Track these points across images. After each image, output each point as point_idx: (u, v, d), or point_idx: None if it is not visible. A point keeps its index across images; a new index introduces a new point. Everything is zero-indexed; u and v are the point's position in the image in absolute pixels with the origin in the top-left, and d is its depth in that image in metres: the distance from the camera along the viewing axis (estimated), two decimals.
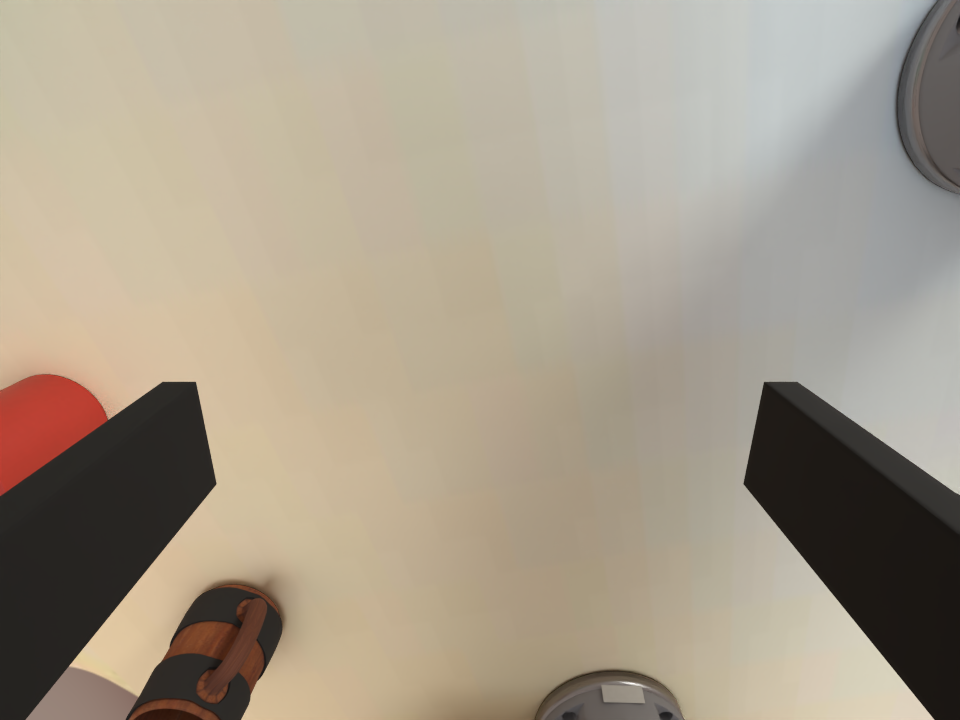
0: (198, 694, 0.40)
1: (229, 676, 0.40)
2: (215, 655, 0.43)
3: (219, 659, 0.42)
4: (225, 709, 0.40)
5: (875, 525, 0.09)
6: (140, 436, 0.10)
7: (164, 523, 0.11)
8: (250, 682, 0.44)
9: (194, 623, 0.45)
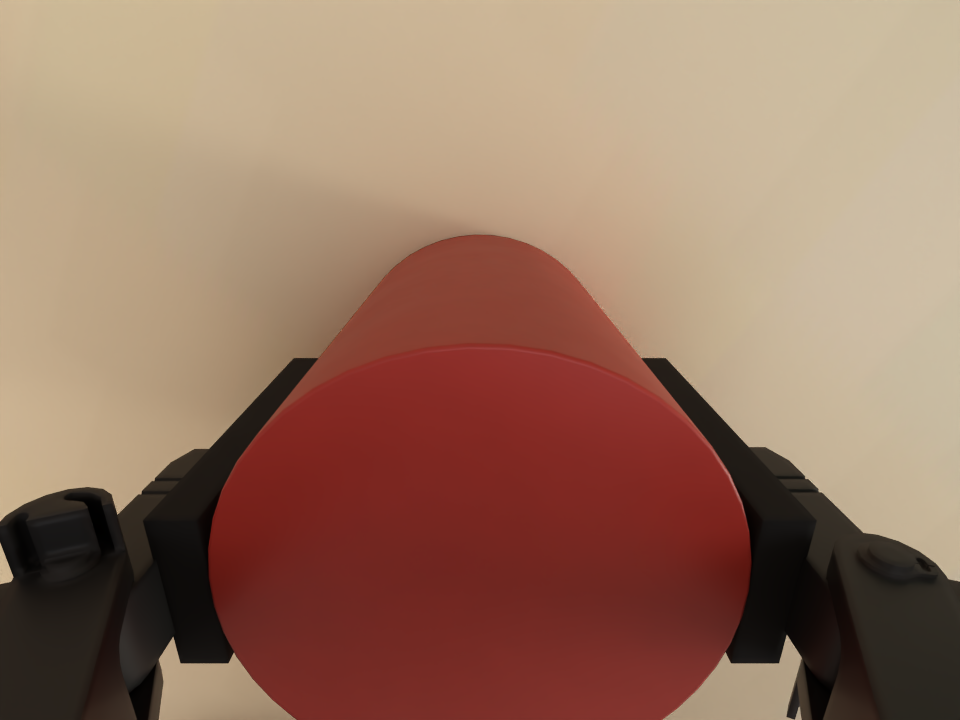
0: None
1: None
2: None
3: None
4: None
5: None
6: None
7: None
8: None
9: None
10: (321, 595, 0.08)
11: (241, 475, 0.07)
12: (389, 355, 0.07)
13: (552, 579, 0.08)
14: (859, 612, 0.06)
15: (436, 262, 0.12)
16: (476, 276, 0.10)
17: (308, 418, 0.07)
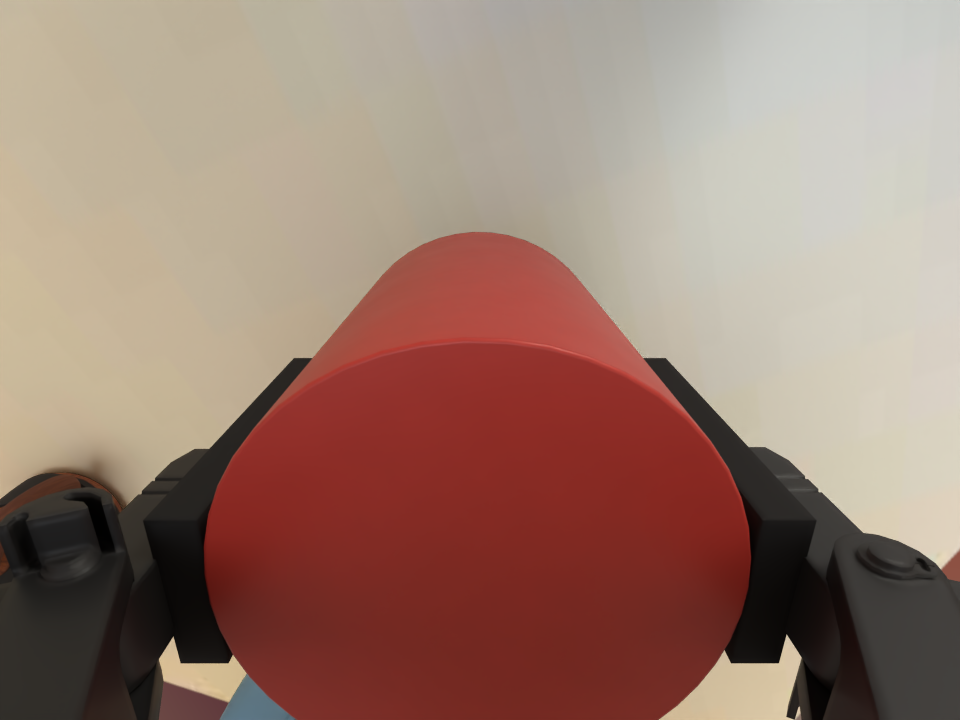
0: None
1: None
2: None
3: None
4: None
5: None
6: None
7: None
8: None
9: None
10: (318, 591, 0.08)
11: (236, 471, 0.07)
12: (385, 350, 0.07)
13: (550, 575, 0.08)
14: (859, 612, 0.06)
15: (434, 259, 0.12)
16: (474, 272, 0.10)
17: (304, 413, 0.07)
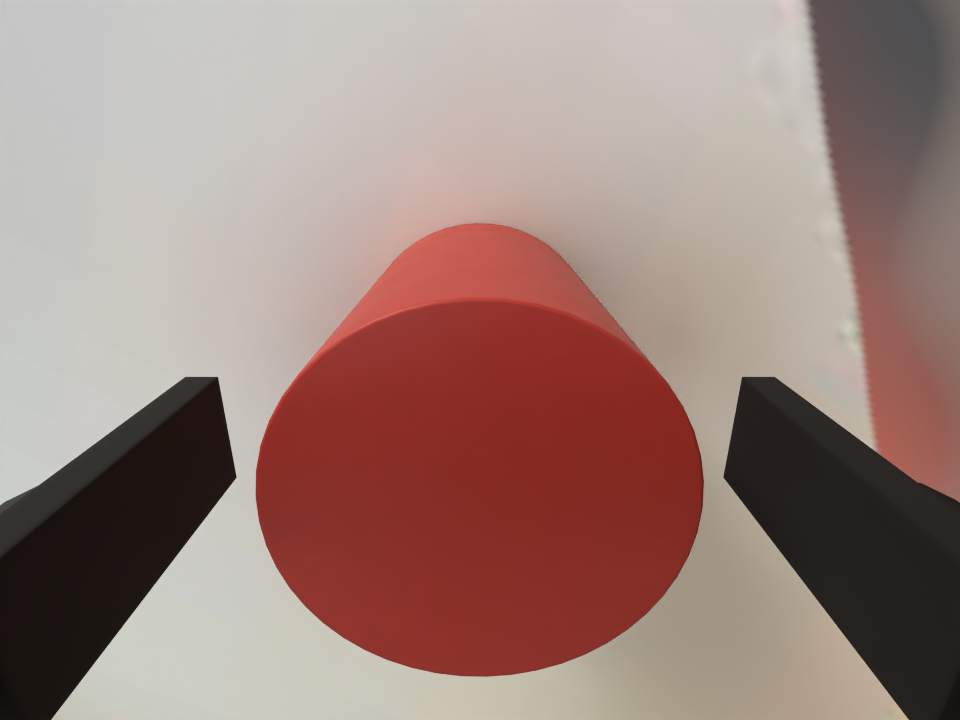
0: None
1: None
2: None
3: None
4: None
5: (841, 514, 0.09)
6: (167, 429, 0.10)
7: (189, 514, 0.11)
8: None
9: None
10: (349, 511, 0.10)
11: (286, 407, 0.09)
12: (407, 307, 0.08)
13: (539, 497, 0.09)
14: None
15: (441, 245, 0.14)
16: (476, 254, 0.12)
17: (342, 359, 0.08)
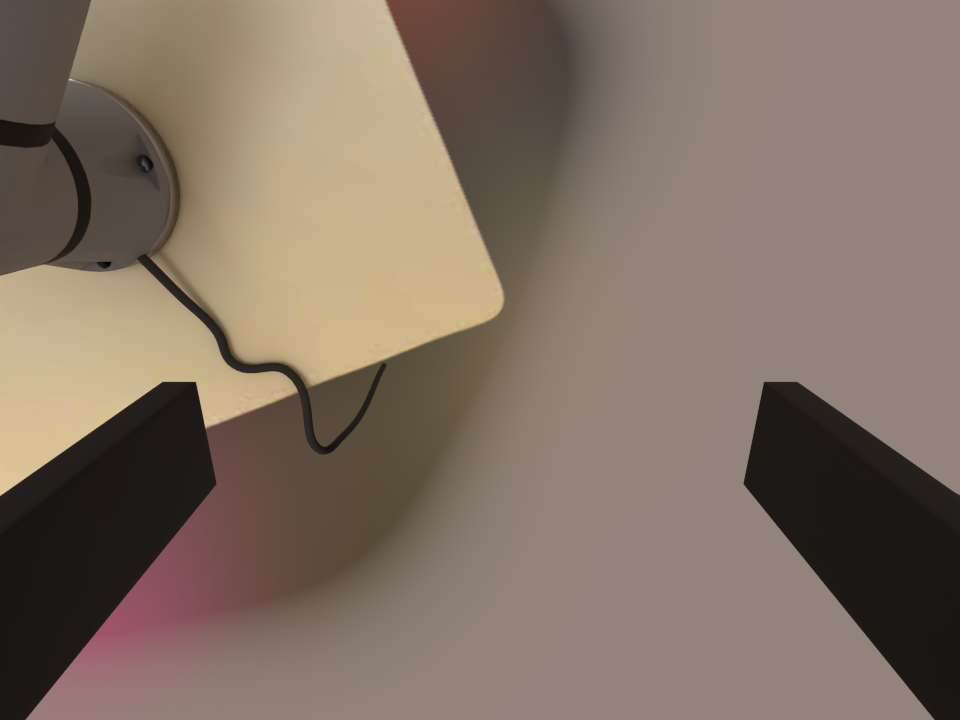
0: None
1: None
2: None
3: None
4: None
5: (875, 525, 0.09)
6: (140, 436, 0.10)
7: (164, 523, 0.11)
8: None
9: None
10: None
11: None
12: None
13: None
14: None
15: None
16: None
17: None
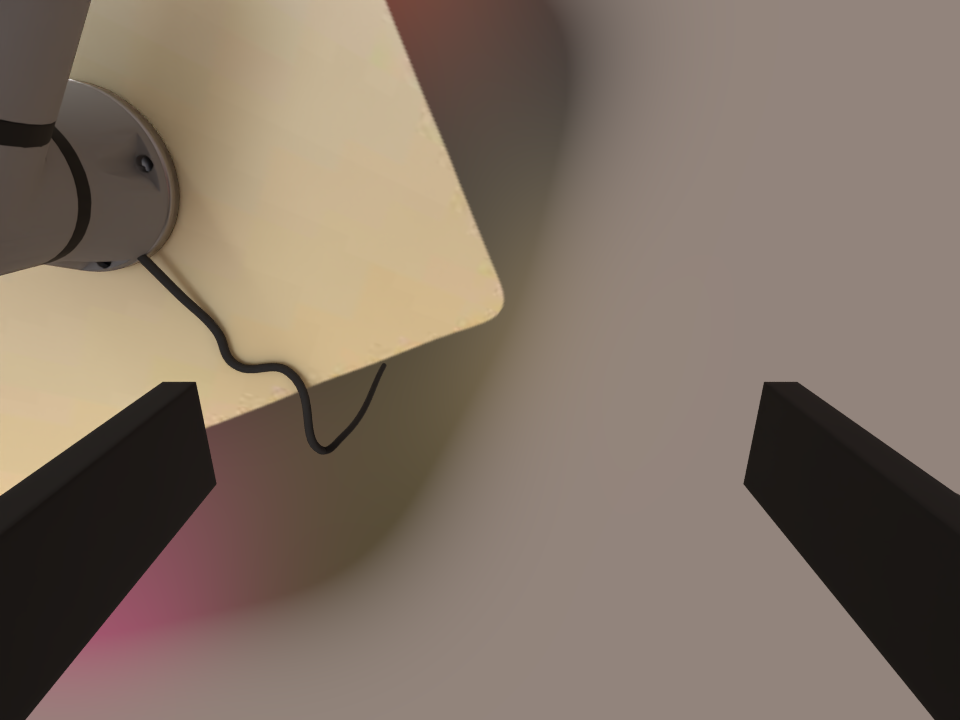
0: None
1: None
2: None
3: None
4: None
5: (875, 525, 0.09)
6: (140, 436, 0.10)
7: (164, 523, 0.11)
8: None
9: None
10: None
11: None
12: None
13: None
14: None
15: None
16: None
17: None
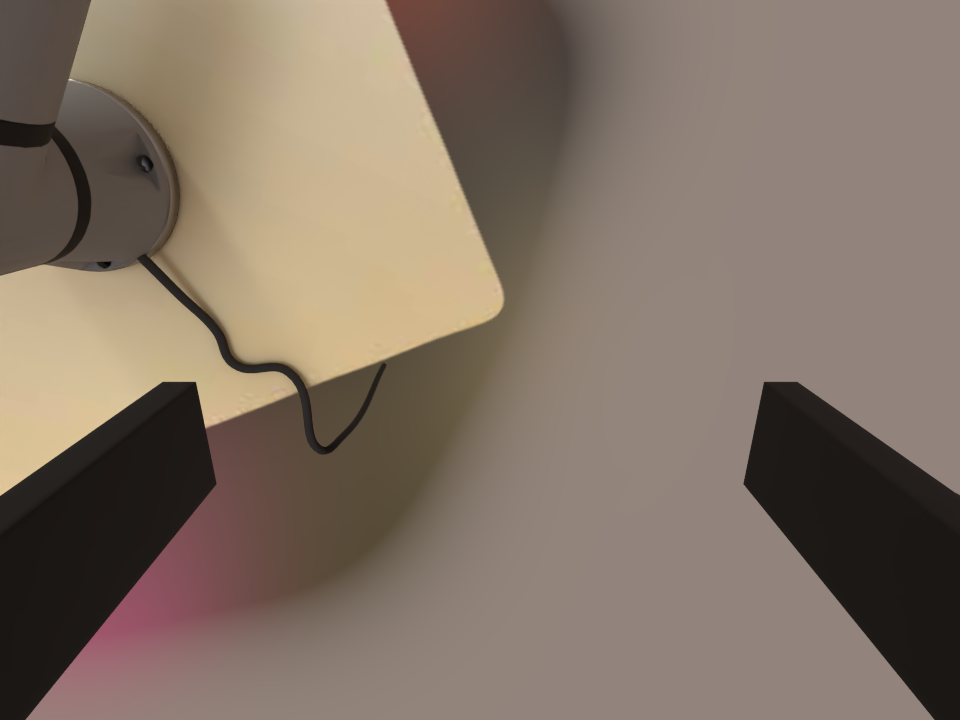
0: None
1: None
2: None
3: None
4: None
5: (875, 525, 0.09)
6: (140, 436, 0.10)
7: (164, 523, 0.11)
8: None
9: None
10: None
11: None
12: None
13: None
14: None
15: None
16: None
17: None
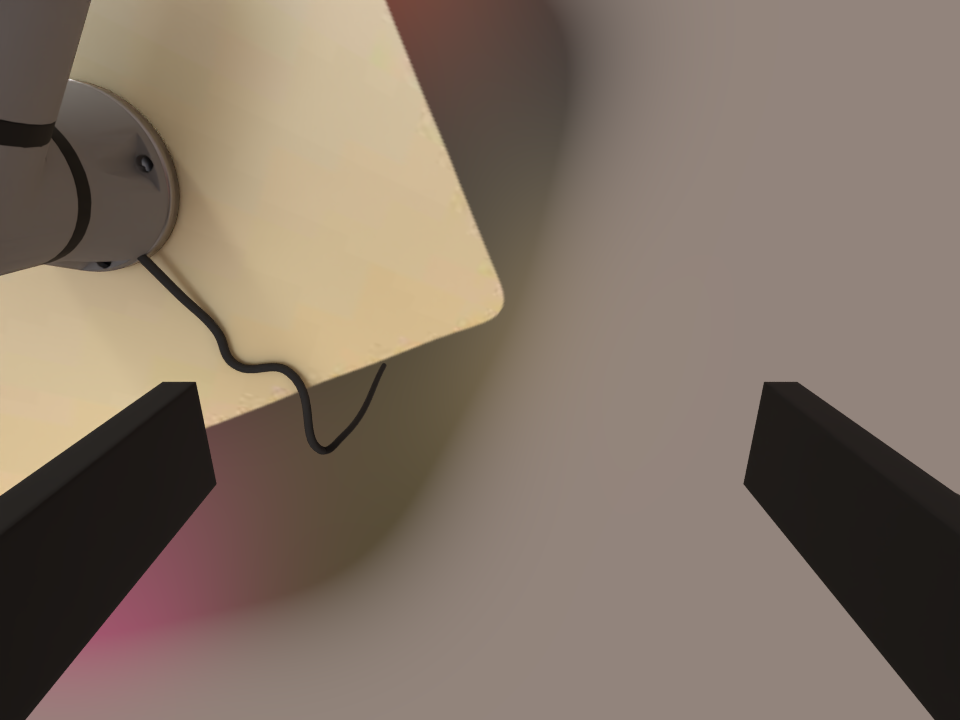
0: None
1: None
2: None
3: None
4: None
5: (875, 525, 0.09)
6: (140, 436, 0.10)
7: (164, 523, 0.11)
8: None
9: None
10: None
11: None
12: None
13: None
14: None
15: None
16: None
17: None
